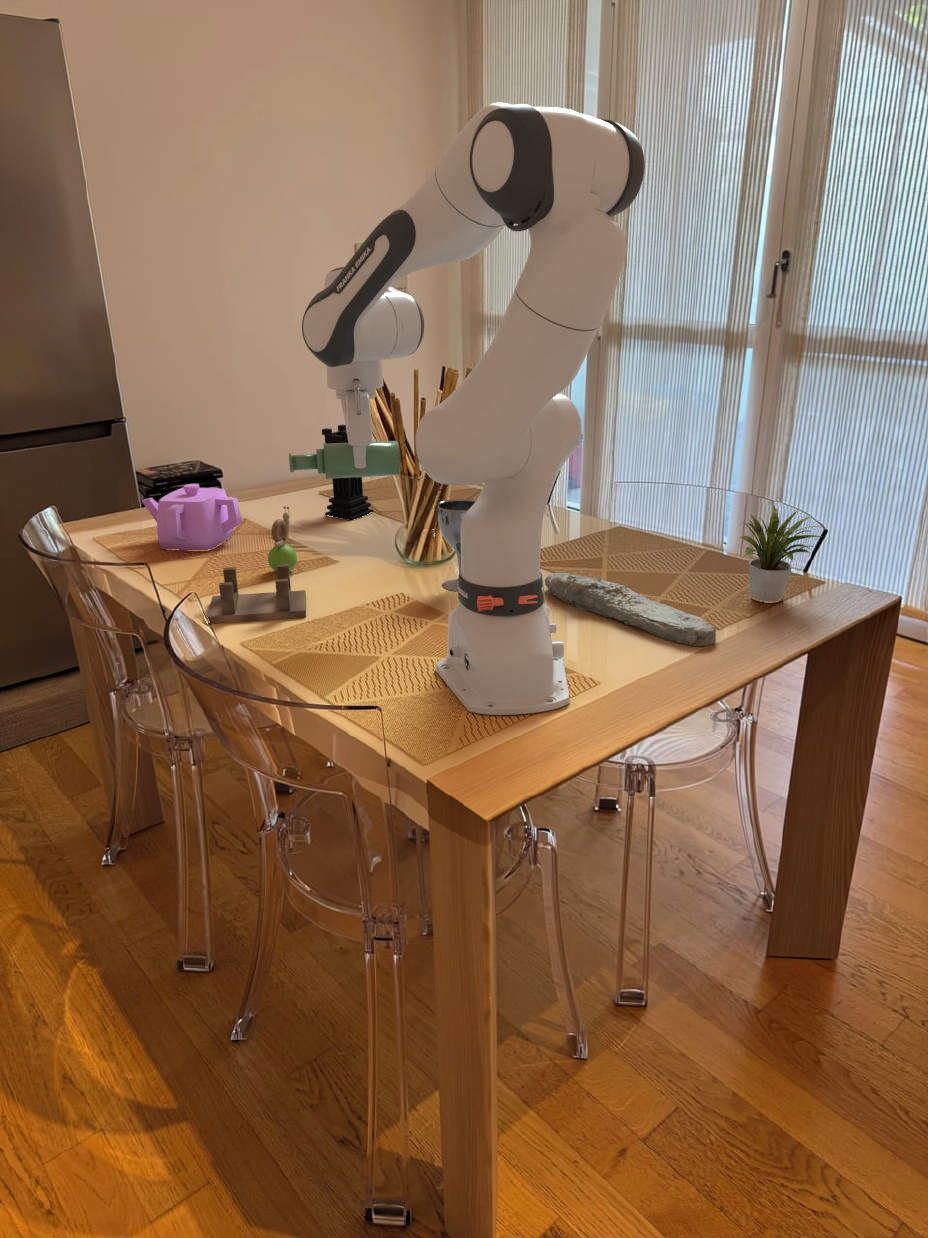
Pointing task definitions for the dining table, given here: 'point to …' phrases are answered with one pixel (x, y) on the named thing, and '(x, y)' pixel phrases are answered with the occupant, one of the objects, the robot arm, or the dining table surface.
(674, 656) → the dining table surface
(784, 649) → the dining table surface
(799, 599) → the dining table surface
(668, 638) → the long grey stone
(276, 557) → the snail figurine
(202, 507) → the teakettle
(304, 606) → the u-rest
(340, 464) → the bottle
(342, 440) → the chess piece
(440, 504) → the wine glass
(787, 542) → the house plant
